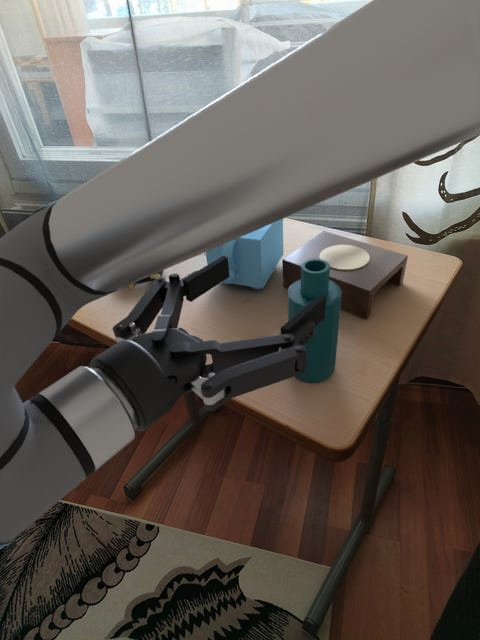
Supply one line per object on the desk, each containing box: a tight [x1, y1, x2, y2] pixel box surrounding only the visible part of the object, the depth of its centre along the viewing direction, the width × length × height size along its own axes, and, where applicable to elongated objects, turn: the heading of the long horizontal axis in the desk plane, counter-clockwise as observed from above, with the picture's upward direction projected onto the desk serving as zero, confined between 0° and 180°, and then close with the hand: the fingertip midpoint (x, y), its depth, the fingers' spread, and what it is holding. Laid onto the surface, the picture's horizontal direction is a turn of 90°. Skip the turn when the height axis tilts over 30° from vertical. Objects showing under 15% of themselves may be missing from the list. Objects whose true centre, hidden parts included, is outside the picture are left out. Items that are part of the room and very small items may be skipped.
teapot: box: [205, 219, 284, 290], centre depth 84 cm, size 22×11×14 cm, turn 158°
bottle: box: [287, 259, 342, 384], centre depth 59 cm, size 7×7×18 cm
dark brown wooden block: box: [281, 230, 409, 320], centre depth 80 cm, size 18×14×6 cm
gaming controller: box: [127, 270, 164, 290], centre depth 88 cm, size 10×5×6 cm
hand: (270, 284), depth 47 cm, fingers open, 13 cm apart
